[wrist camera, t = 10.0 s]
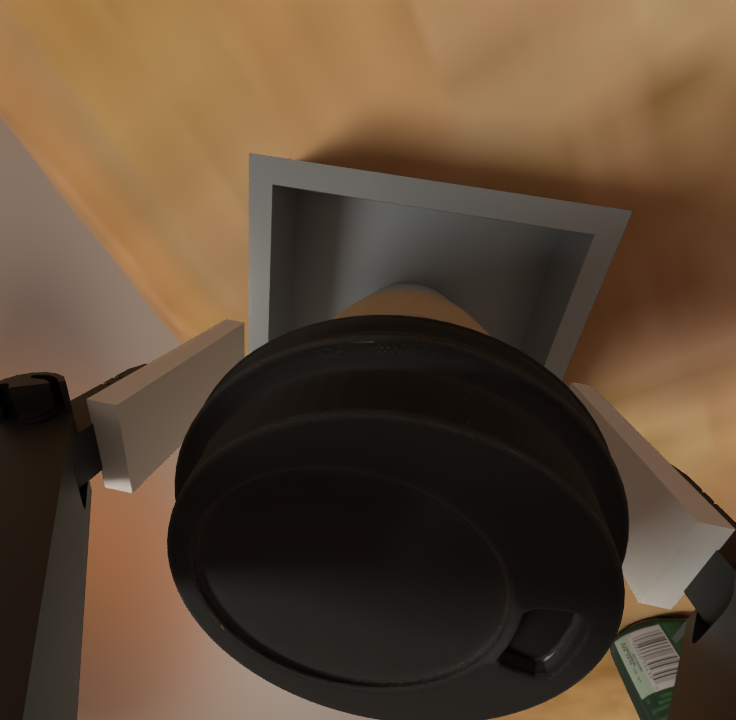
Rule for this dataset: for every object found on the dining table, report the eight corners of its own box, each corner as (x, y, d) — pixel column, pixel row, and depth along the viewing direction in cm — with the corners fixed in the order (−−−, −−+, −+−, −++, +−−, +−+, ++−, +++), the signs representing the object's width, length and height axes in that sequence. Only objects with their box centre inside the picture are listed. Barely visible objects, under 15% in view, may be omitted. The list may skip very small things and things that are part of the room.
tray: (581, 210, 17) (632, 210, 13) (494, 452, 23) (510, 504, 19) (287, 166, 18) (249, 152, 14) (276, 410, 24) (248, 450, 20)
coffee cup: (505, 387, 20) (687, 750, 7) (353, 419, 23) (255, 741, 9) (471, 220, 17) (690, 259, 3) (299, 276, 19) (12, 436, 6)
